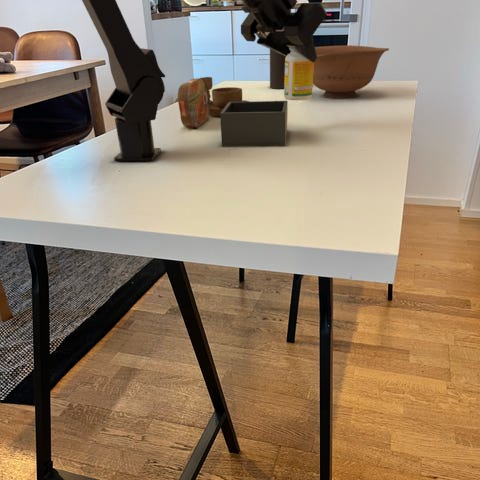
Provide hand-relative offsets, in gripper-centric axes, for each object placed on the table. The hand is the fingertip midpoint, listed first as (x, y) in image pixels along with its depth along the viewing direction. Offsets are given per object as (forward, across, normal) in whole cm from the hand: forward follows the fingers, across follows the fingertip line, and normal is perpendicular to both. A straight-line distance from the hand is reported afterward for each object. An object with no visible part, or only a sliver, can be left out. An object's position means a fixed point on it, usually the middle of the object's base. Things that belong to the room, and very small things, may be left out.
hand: (305, 59), depth 89 cm
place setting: (+8, +27, +9) cm, 30 cm away
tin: (-2, +18, +19) cm, 26 cm away
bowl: (+30, +23, -13) cm, 40 cm away
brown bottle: (+28, +46, -11) cm, 55 cm away
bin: (0, -2, +17) cm, 18 cm away
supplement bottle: (+4, 0, +6) cm, 7 cm away
